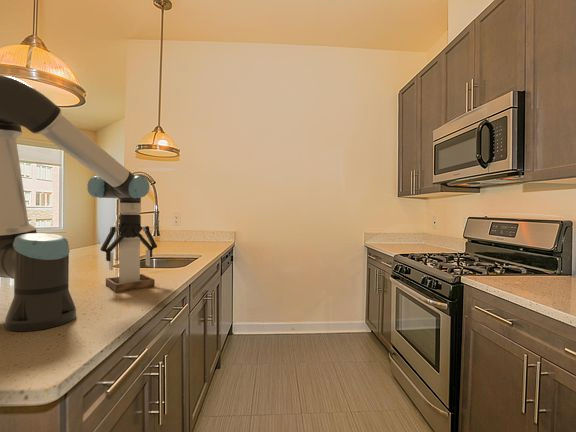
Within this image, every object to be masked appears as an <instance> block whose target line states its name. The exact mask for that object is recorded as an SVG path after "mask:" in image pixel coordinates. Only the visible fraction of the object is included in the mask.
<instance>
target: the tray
mask: <svg viewBox="0 0 576 432" xmlns="http://www.w3.org/2000/svg"><path fill="white" fill-rule="evenodd" d="M155 283H156V282H155V279H154V278H153V277H150V276H148V275H146V274H144V273H140V281H137V282H130V283H122V284H119V276H114V277H105V286H106V287H107V288H109V289H110V290H111V291H112V292H114V293H121V292H127V291H133V290H142V289H147V288H154V287H156V286H155Z"/></svg>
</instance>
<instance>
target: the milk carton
mask: <svg viewBox="0 0 576 432" xmlns="http://www.w3.org/2000/svg"><path fill="white" fill-rule="evenodd" d="M118 251H119V254H118V258H119V259H118V261H119V262H118V263H119V264H118V265H119V266H118V267H119V269H118V273H119V274H118V277H119V284H122V283H130V282H137V281H140V274H141V241H140V238H139V237H134V238H133V237H130V238H126V237H124V238H123V239H122V240H121V241H120V242H119V247H118Z"/></svg>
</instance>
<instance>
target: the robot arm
mask: <svg viewBox="0 0 576 432" xmlns="http://www.w3.org/2000/svg"><path fill="white" fill-rule="evenodd" d="M22 127H24V128H25V129H27V130H28V131H29V132H30V133H32V134H34V135H35V134H36V135H39V134H40V135H41V136H43V137H44V138H46V139H47V140H49V141H50V142H51V143H53V144H54V145H55V146H57V148H59V149H61V151H63V152H64V153H66V154H67V155H69V156H70V157H71V158H73V159H74V160H76V161H77V162H78V163H80V164H81V165H82V166H83V167H85V168H87V170H89V171H90V172H92V173H93V174H94V175H96V176H92V177H90V178H89V179H88V181H87V192H88V193H89V196H91V197H93V198H99V199H101V198H102V199H119V213H120V215H119V226H113V225H112V226H110V228H109V233H108V234H107V236H106V239H105V240H104V242H103V244H102V245H101V247H100V251H101V252H105V261H106V262H108V269H109V270H110V271H114V252H112V251H113V250H114V249H115V248H116V247H117V246H118V244H120V241H121V240H122V239H123V238H124V237H126V238H130V237H133V238H134V237H139V238H140V243H142V244H143V245H144V246H145V248H146V249H145V266H147V267H150V266H151V258H152V257H153V250H154V249H157V248H158V245H157V243H156V241H155V239H154V237H153V235H152V233H151V231H150V226H148V225H144V226H142V222H141V221H142V215H141V213H142V198H143V197H146V196H147V195H148V194H149V191H150V182H149V180H148V179H147V177H145V176H142V175H138V174H133V173H132V172H131V171H130V170H128V169H127V168H126V167H125V166H124V165H123V164H121V163H120V162H119V161H118V160H116V158H114V157H113V156H112V155H110V154H109V153H108V152H107V151H105V150H104V149H103V148H102V147H101V146H100V145H98V144H97V143H96V142H95V141H94V140H93V139H91V138H90V137H89V136H88V135H86V134H85V133H84V132H83V131H82V130H80V129H79V128H78V127H77V126H76V125H75V124H73V123H72V122H71V121H70V120H69V119H67V118H66V117H65V116H64V115H63V114H62V109H61V108H60V106H58V105H57V104H55V102H53V101H52V100H51V99H50V98H48V97H47V96H46V95H45V94H43V93H41V92H40V91H39V90H37V89H36V88H34V87H33V86H31V85H30V84H28V83H26V82H24V81H22V80H20V79H19V78H15V77H12V76H10V75H3V74H0V278H5V279H8V278H9V279H13V286H14V287H13V288H14V289H13V299H12V301H11V303H10V306H9V309H8V311H7V314H6V315H5V318H4V320H5V321H4V322H5V323H4V328H5V329H6V330H7V331H11V332H31V331H39V330H45V329H51V328H53V327H59V326H61V325H64V324H67V323H69V322H71V321H73V320H74V319H75V318H76V317H77V307H76V305H75V303H74V300H73V297H72V295H71V293H70V290H69V289H70V288H69V287H70V286H69V282H70V280H69V279H70V278H69V273H70V272H69V271H70V270H69V267H70V266H69V264H70V260H69V257H70V256H69V254H70V245H69V240H68V239H67V238H66V237H65V236H64V235H61V234H54V233H50V234H49V233H43V232H39V233H38V232H37V227H35V226H34V225H32V224H30V222H29V217H28V211H27V206H26V205H27V204H26V197H25V190H24V184H23V177H22V170H21V165H20V164H21V162H20V158H19V156H20V155H19V151H18V143H17V139H19V137H21V136H22V135H23V131H22ZM142 231H143V232H144V233H145V235H146V237H147V239H148V241H149V242H148V241H147V240H146V238H145V237H144V236H143V235H142V234H141V232H142ZM117 232H119V234H118V235H117V237H116V238H115V239H114V240H113V241H112V239H113V237H114V235H115V233H117ZM111 241H112V242H111ZM110 243H111V244H110Z"/></svg>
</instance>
